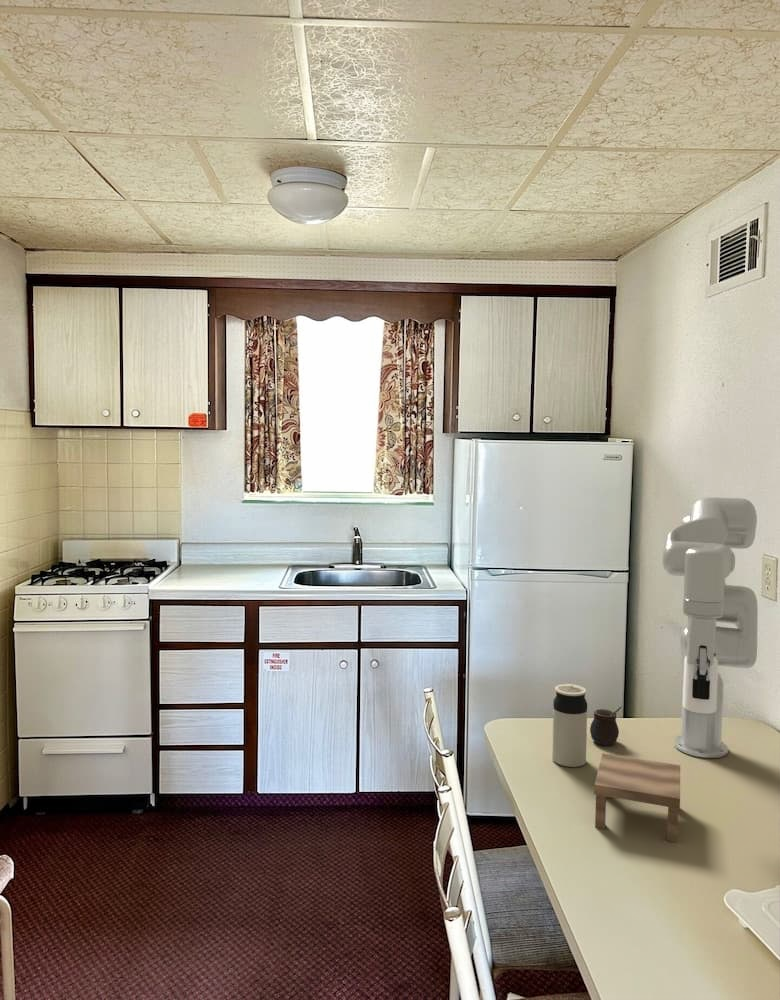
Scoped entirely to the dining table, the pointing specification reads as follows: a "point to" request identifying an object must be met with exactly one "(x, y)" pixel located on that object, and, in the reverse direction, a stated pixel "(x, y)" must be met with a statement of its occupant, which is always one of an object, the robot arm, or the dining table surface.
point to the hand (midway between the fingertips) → (699, 692)
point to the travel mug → (569, 725)
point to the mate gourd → (604, 727)
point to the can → (688, 701)
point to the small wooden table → (638, 786)
